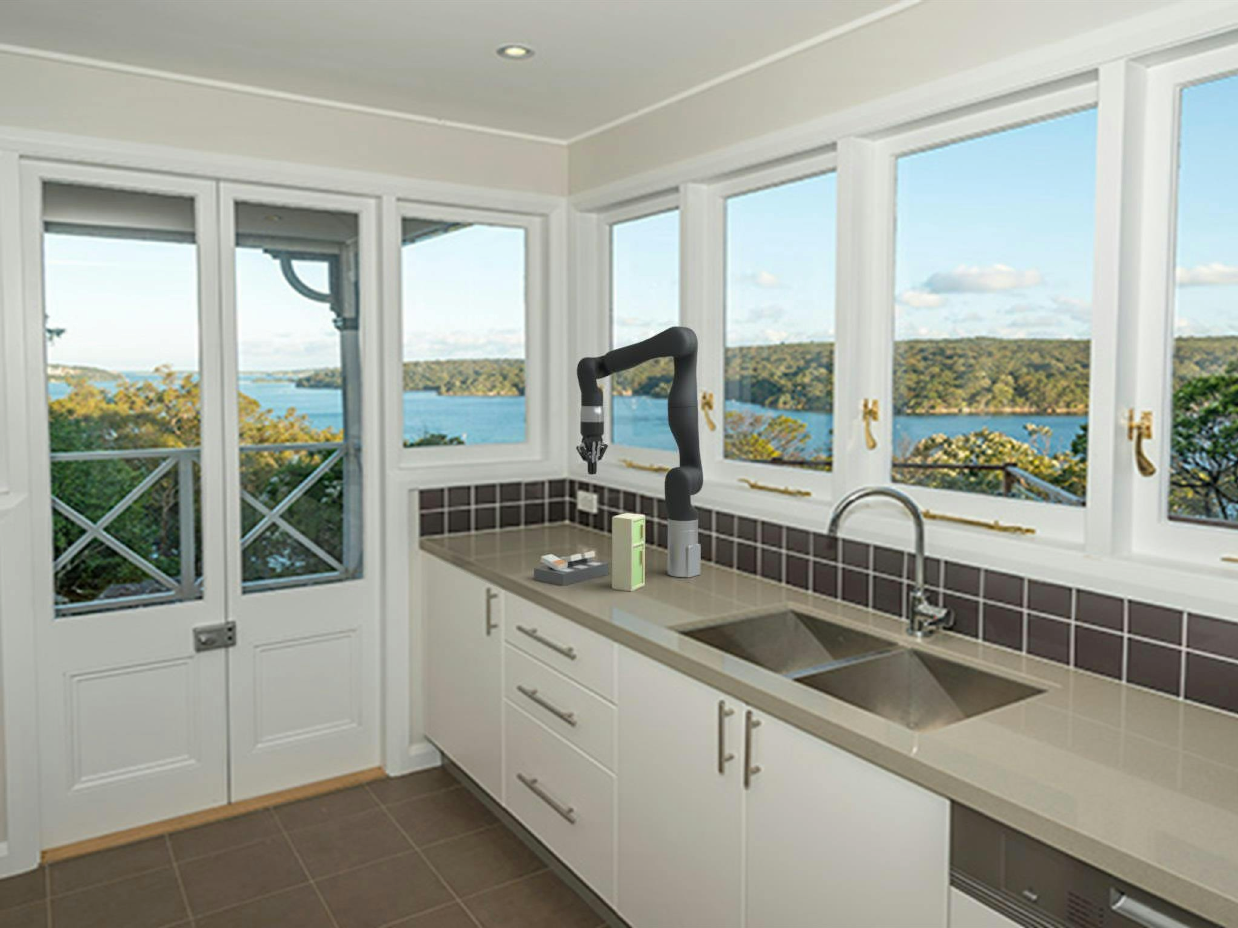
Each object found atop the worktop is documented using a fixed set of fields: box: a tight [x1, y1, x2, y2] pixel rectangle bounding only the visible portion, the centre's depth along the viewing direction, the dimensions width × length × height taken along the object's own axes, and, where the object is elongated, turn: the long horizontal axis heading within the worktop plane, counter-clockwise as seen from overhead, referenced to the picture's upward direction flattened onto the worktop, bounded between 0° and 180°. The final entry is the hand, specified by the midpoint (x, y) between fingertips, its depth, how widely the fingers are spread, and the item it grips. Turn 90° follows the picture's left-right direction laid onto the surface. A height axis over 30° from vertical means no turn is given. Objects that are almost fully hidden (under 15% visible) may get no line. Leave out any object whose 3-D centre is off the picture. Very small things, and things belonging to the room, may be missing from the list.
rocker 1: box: [540, 553, 568, 570], centre depth 280 cm, size 7×4×2 cm, turn 50°
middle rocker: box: [559, 553, 582, 562], centre depth 284 cm, size 7×4×2 cm, turn 48°
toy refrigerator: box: [611, 512, 646, 592], centre depth 269 cm, size 8×7×21 cm
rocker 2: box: [573, 550, 596, 559], centre depth 289 cm, size 7×4×2 cm, turn 49°
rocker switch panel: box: [533, 558, 610, 587], centre depth 285 cm, size 12×24×4 cm, turn 139°
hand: (592, 474), depth 301 cm, fingers closed
